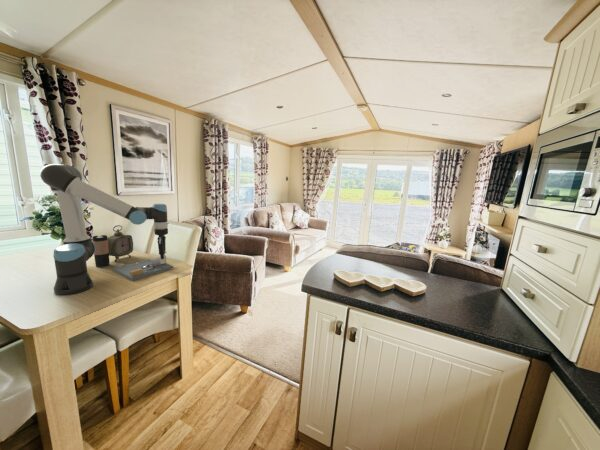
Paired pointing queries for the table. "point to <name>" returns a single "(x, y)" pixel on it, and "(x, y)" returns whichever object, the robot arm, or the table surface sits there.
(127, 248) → the tabletop clock
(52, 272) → the table surface
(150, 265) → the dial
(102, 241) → the travel mug
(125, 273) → the panel
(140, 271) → the screwdriver
